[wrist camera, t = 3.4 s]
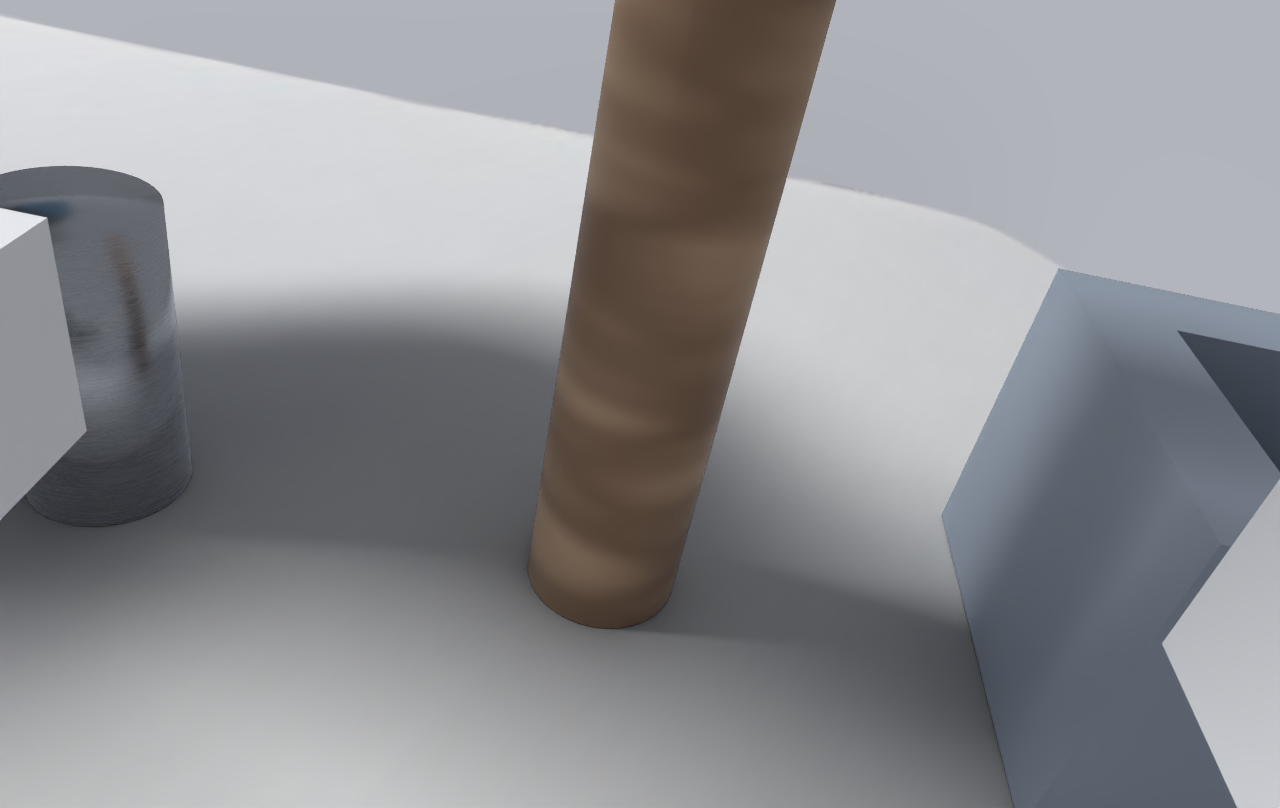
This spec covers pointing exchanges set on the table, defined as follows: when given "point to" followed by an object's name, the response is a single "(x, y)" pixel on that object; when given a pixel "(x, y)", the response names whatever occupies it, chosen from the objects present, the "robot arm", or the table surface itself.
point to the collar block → (1110, 533)
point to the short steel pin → (112, 344)
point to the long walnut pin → (664, 286)
